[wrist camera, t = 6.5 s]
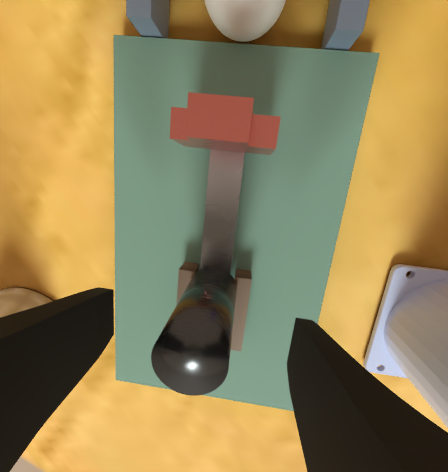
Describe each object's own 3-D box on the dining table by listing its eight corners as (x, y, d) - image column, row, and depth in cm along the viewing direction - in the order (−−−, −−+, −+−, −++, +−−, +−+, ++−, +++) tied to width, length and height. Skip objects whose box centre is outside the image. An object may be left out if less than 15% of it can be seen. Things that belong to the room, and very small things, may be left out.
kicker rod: (271, 132, 13) (298, 79, 6) (246, 305, 16) (245, 407, 9) (193, 125, 13) (132, 66, 6) (181, 295, 16) (129, 386, 9)
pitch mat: (369, 62, 13) (379, 53, 12) (294, 399, 18) (297, 411, 18) (123, 45, 14) (113, 34, 13) (122, 369, 19) (115, 379, 18)
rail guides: (251, 270, 15) (251, 279, 14) (241, 337, 17) (241, 351, 15) (184, 261, 16) (178, 269, 14) (180, 327, 17) (174, 340, 15)
